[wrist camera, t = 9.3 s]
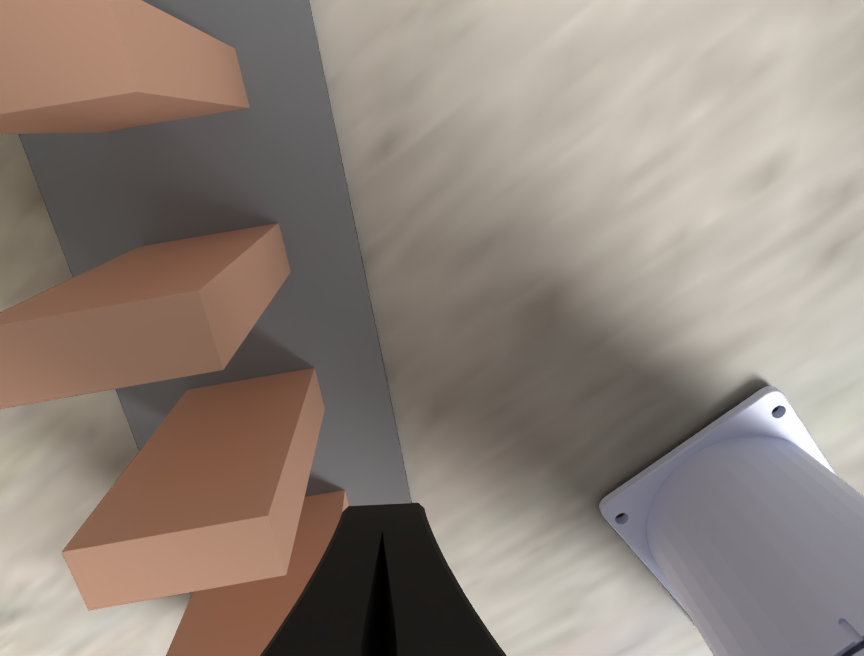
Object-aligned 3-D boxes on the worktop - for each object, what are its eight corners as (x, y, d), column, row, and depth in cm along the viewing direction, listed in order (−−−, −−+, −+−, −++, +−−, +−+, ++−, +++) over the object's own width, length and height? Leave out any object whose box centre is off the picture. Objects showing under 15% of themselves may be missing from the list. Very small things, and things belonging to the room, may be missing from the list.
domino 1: (249, 107, 17) (137, 91, 9) (100, 132, 17) (-132, 135, 9) (235, 48, 16) (103, -20, 9) (80, 73, 16) (-183, 26, 9)
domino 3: (324, 408, 20) (286, 574, 13) (201, 430, 20) (88, 610, 13) (314, 367, 20) (268, 515, 12) (187, 389, 20) (61, 552, 12)
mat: (445, 665, 25) (445, 671, 25) (239, 703, 25) (237, 709, 25) (289, -93, 16) (288, -97, 15) (-40, -38, 16) (-49, -42, 15)
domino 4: (353, 525, 22) (334, 732, 14) (239, 545, 22) (160, 764, 14) (344, 489, 21) (320, 686, 14) (227, 510, 21) (139, 719, 14)
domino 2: (290, 272, 19) (223, 370, 11) (155, 295, 19) (-5, 409, 11) (278, 222, 18) (199, 290, 11) (139, 246, 18) (-41, 331, 10)
